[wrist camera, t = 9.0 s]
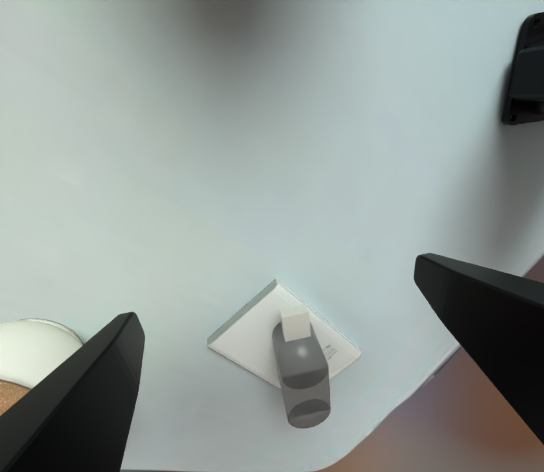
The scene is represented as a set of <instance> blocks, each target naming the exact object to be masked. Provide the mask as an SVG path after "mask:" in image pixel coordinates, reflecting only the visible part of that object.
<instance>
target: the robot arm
mask: <svg viewBox="0 0 544 472" xmlns="http://www.w3.org/2000/svg"><path fill="white" fill-rule="evenodd" d="M533 21H534V24H533ZM532 25H533V26H532ZM511 116H512V117H511ZM510 118H511V119H510ZM542 120H544V12H542V13H536V14H533V15H530V16H528V17H527V18H526V20H525V21H524V24H523V27H522V32H521V36H520V41H519V45H518V50H517V54H516V59H515V63H514V68H513V72H512V77H511V81H510V86H509V90H508V95H507V99H506V104H505V108H504V112H503V117H502V122H503V124H504V125H516V124H523V123H529V122H536V121H542ZM414 281H415V283H416V285H417V286H418V288H419V289H420V291H421V292H422V294H423V295H424V297H425V298H426V300H427V301H428V303H429V304H430V306H431V307H432V309H433V310H434V311H435V313H436V314H437V316H438V317H439V319H440V320H441V321H442V323H443V324H444V325H445V326H446V328H447V329H448V330H449V331H450V333H451V334H452V335H453V336H454V337H455V339H456V340H457V341H458V342H459V343H460V345H461V346H462V347H463V348H464V349H465V351H466V352H467V353H468V354H469V355H470V357H471V358H472V359H473V360H474V362H475V363H476V364H477V365H478V366H479V367H480V369H481V370H482V371H483V372H484V373H485V375H486V376H487V377H488V378H489V380H490V381H491V382H492V383H493V384H494V386H495V387H496V388H497V389H498V390H499V392H500V393H501V394H502V395H503V396H504V398H505V399H506V400H507V401H508V403H509V404H510V405H511V406H512V407H513V409H515V411H516V412H517V413H518V415H519V416H520V417H521V418H522V419H523V421H524V422H525V423H526V424H527V425H528V427H529V428H530V429H531V430H532V432H533V433H534V434H535V435H536V436H537V438H538V439H539V440H540V441H541V442H542V443H543V445H544V283H542V282H538V281H534V280H530V279H527V278H523V277H519V276H515V275H511V274H508V273H504V272H500V271H496V270H493V269H489V268H485V267H481V266H478V265H474V264H470V263H466V262H462V261H459V260H455V259H451V258H447V257H444V256H440V255H436V254H432V253H427V254H422V255H419V256H417V258H416V262H415V270H414ZM144 342H145V335H144V331H143V329H142V326H141V324H140V322H139V319H138V317H137V315H136V313H134V312H128V313H123V314H120V315H118V316H117V317H116V318H114V319H113V320H112V321H111V322H110V323H109V324H107V325H106V326H105V327H104V328H103V329H102V330H100V331H99V332H98V333H97V334H96V335H94V336H93V337H92V338H91V339H90V340H89V341H87V342H86V343H85V344H84V345H83V346H82V347H80V348H79V349H78V350H77V351H76V352H74V353H73V354H72V355H71V356H70V357H69V358H67V359H66V360H65V361H64V362H63V363H62V364H60V365H59V366H58V367H57V368H56V369H55V370H53V371H52V372H51V373H50V374H49V375H47V376H46V377H45V378H44V379H43V380H42V381H40V382H39V383H38V384H37V385H36V386H35V387H33V388H32V389H31V390H30V391H29V392H28V393H26V394H25V395H24V396H23V397H22V398H20V399H19V400H18V401H17V402H16V403H15V404H13V405H12V406H11V407H10V408H9V409H8V410H6V411H5V412H4V413H3V414H2V415H1V416H0V472H120V468H121V464H122V460H123V455H124V451H125V447H126V443H127V438H128V434H129V430H130V426H131V421H132V417H133V413H134V408H135V404H136V400H137V395H138V390H139V384H140V376H141V368H142V359H143V351H144Z"/></svg>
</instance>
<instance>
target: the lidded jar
mask: <svg viewBox="0 0 544 472" xmlns="http://www.w3.org/2000/svg"><path fill="white" fill-rule="evenodd" d="M82 346H83V344H82V342H81V340H80V339H79V337H78V336H77V335H76V334H75V333H74V332H73V331H71V330H70V329H68V328H67V327H65V326H63V325H61V324H59V323H56V322H53V321H49V320H44V319H22V320H16V321H4V322H0V416H1V415H2V414H3V413H4V412H5V411H6V410H8V409H9V408H10V407H11V406H12V405H13V404H15V403H16V402H17V401H18V400H19V399H20V398H22V397H23V396H24V395H25V394H26V393H28V392H29V391H30V390H31V389H32V388H33V387H35V386H36V385H37V384H38V383H39V382H40V381H42V380H43V379H44V378H45V377H46V376H47V375H49V374H50V373H51V372H52V371H53V370H55V369H56V368H57V367H58V366H59V365H60V364H62V363H63V362H64V361H65V360H66V359H67V358H69V357H70V356H71V355H72V354H73V353H74V352H76V351H77V350H78V349H79V348H80V347H82Z"/></svg>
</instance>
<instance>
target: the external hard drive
mask: <svg viewBox="0 0 544 472" xmlns="http://www.w3.org/2000/svg"><path fill="white" fill-rule="evenodd" d="M304 304H306V303H305V302H304V301H302V300H301V299H300V298H299V297H298V296H296V295H295V294H294V293H293V292H292V291H290V290H289V289H288V288H287V287H286V286H284V285H283V284H282V283H281V282H280V281H279V280H277V279H274V280H273V281H272V282H271V283H270V284H269V285H268V286H267V287H265V288H264V289H263V290H262V291H261V292H260V293H259V294H258V295H256V296H255V297H254V298H253V299H252V300H251V301H250V302H248V303H247V304H246V305H245V306H244V307H243V308H242V309H241V310H239V311H238V312H237V313H236V314H235V315H234V316H233V317H231V318H230V319H229V320H228V321H227V322H226V323H225V324H224V325H222V326H221V327H220V328H219V329H218V330H217V331H216V332H214V333H213V334H212V335H211V336H210V337H209V338H208V339H207V340H208V347H210V348H212V349H213V350H215V351H217V352H218V353H220V354H222V355H223V356H225V357H227V358H229V359H230V360H232V361H234V362H235V363H237V364H239V365H240V366H242V367H244V368H245V369H247V370H249V371H251V372H252V373H254V374H256V375H257V376H259V377H261V378H262V379H264V380H266V381H268V382H269V383H271V384H273V385H274V386H276V387H278V388H279V389H281V386H280V381H279V376H278V370H277V364H276V357H275V351H274V345H273V339H272V333H273V330H274V328H275V327H276V326H277V325H278V324H279V323H280V322H281V316H280V309H285V308H290V307H295V306H299V305H304ZM306 307H307V309H308V311H309V320H310V323H311V325H312V327H313V329H314V332H315V334H316V336H317V339H318V341H319V344H320V346H321V348H322V351H323V353H324V356H325V358H326V360H327V363H328V367H329V380H330V379H332V378H333V377H334V376H336V375H337V374H338V373H340V372H341V371H342V370H344V369H345V368H346V367H348V366H349V365H350V364H352V363H353V362H354V361H356V360H357V359H358V358H359V357H360V356H361V352H360V350H359V348H358V347H357V346H356V345H355V344H354V343H352V342H351V341H350V340H349V339H348V338H346V337H345V336H344V335H343V334H342V333H341V332H339V331H338V330H337V329H336V328H335V327H333V326H332V325H331V324H330V323H329V322H327V321H326V320H325V319H324V318H323V317H321V316H320V315H319V314H318V313H317V312H315V311H314V310H313V309H312V308H311V307H310V306H308V305H307V304H306Z"/></svg>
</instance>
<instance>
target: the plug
mask: <svg viewBox="0 0 544 472" xmlns="http://www.w3.org/2000/svg"><path fill="white" fill-rule="evenodd" d="M280 316H281V322H280V323H279V324H278V325H277V326H276V327H275V328H274V330H273V333H272V339H273V345H274V351H275V357H276V364H277V370H278V376H279V381H280V386H281V390H282V395H283V399H284V404H285V409H286V413H287V418H288V422H289V423H290V424H291V425H292V426H294V427H296V428H310V427H313V426H316V425H318V424H320V423H321V422H323V421H324V420H325V419H326V418H327V417H328V416H329V414H330V388H329V367H328V363H327V360H326V358H325V356H324V353H323V351H322V348H321V346H320V344H319V341H318V339H317V336H316V334H315V332H314V329H313V327H312V325H311V323H310V320H309V311H308V309H307V307H306V304H304V305H299V306H295V307H290V308H285V309H280Z"/></svg>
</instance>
